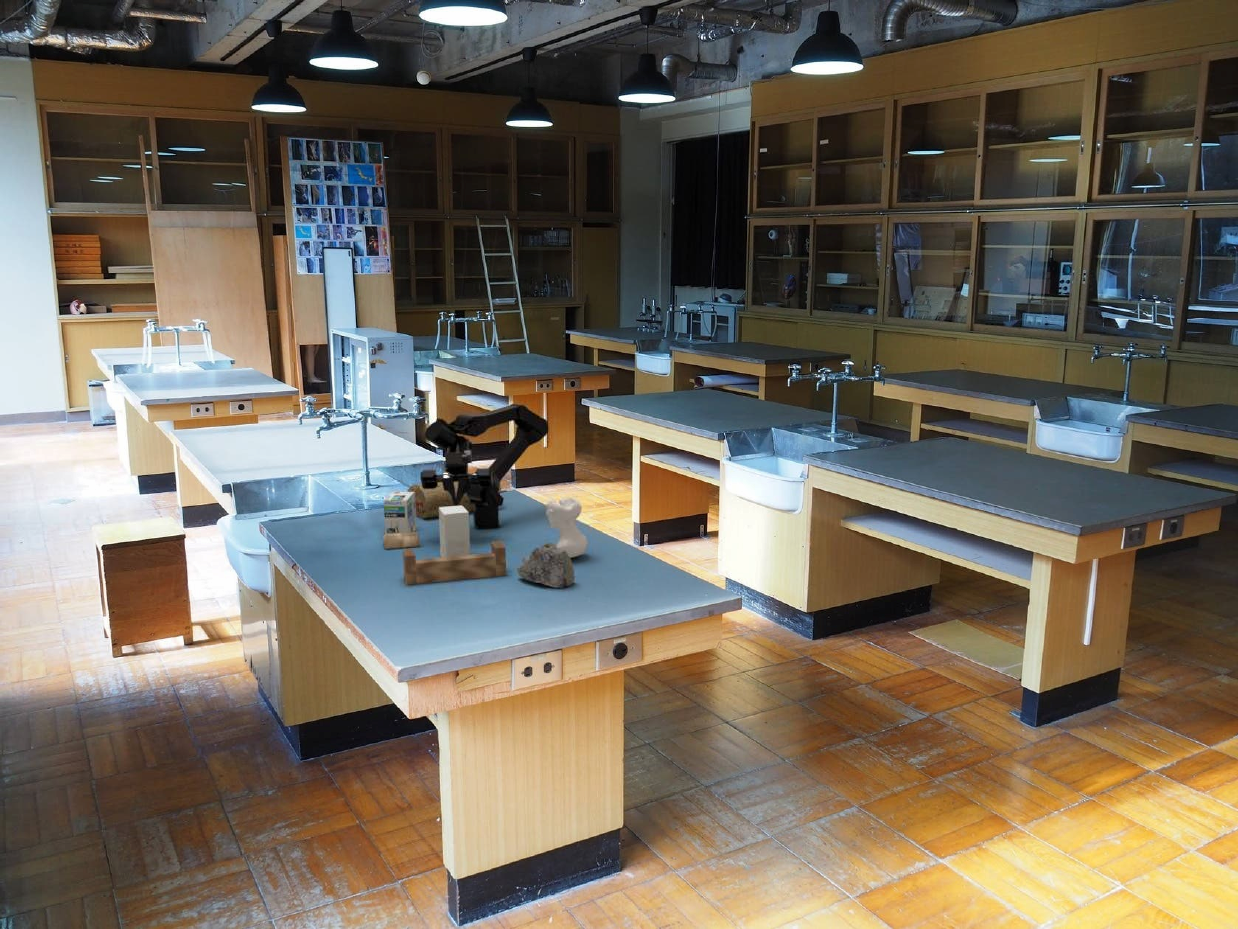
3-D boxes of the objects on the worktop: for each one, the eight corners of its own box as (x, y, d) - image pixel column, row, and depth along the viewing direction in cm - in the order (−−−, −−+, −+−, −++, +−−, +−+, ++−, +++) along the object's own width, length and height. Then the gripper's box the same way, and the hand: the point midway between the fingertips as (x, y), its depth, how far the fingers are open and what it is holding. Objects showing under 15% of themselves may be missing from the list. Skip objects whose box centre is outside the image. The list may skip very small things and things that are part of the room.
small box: (471, 562, 261) (469, 512, 258) (446, 565, 259) (443, 514, 256) (464, 553, 268) (462, 504, 266) (440, 556, 266) (437, 507, 263)
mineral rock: (515, 578, 248) (513, 538, 246) (555, 571, 253) (554, 531, 251) (538, 593, 237) (537, 551, 235) (579, 586, 242) (579, 544, 240)
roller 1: (417, 543, 280) (417, 532, 280) (418, 542, 277) (417, 531, 277) (383, 546, 277) (383, 535, 278) (384, 545, 274) (383, 534, 275)
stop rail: (501, 568, 256) (500, 540, 254) (506, 575, 250) (505, 547, 249) (404, 577, 249) (402, 549, 248) (406, 584, 244) (405, 556, 242)
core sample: (405, 512, 310) (403, 480, 308) (485, 500, 324) (484, 469, 322) (423, 523, 299) (421, 489, 296) (505, 510, 313) (504, 477, 310)
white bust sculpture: (569, 565, 257) (568, 507, 254) (536, 557, 264) (534, 500, 261) (594, 556, 265) (593, 499, 262) (560, 549, 272) (559, 493, 268)
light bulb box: (409, 538, 282) (407, 500, 280) (384, 538, 282) (382, 500, 280) (417, 528, 293) (415, 491, 290) (393, 528, 293) (391, 491, 291)
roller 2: (419, 548, 275) (418, 541, 277) (419, 540, 273) (418, 533, 276) (385, 551, 272) (384, 544, 275) (385, 542, 271) (384, 535, 273)
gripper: (419, 440, 273) (416, 490, 265) (490, 438, 275) (489, 489, 266) (424, 463, 283) (421, 512, 274) (493, 461, 284) (492, 510, 275)
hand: (455, 505), depth 272 cm, fingers closed
